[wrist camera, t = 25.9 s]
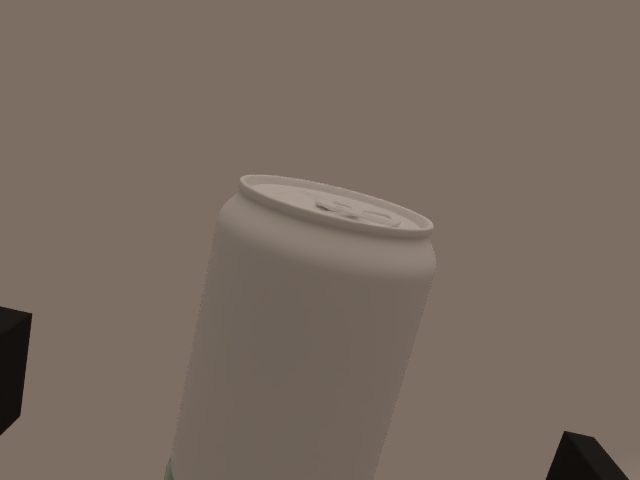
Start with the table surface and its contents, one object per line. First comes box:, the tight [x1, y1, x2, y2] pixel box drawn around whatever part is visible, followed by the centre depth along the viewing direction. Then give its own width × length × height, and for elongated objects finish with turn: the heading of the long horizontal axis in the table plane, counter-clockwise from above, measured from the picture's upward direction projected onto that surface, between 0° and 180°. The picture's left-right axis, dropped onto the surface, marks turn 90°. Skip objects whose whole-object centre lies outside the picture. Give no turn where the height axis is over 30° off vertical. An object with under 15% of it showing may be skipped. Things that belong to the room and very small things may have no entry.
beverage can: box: [171, 175, 436, 480], centre depth 21 cm, size 8×8×12 cm
